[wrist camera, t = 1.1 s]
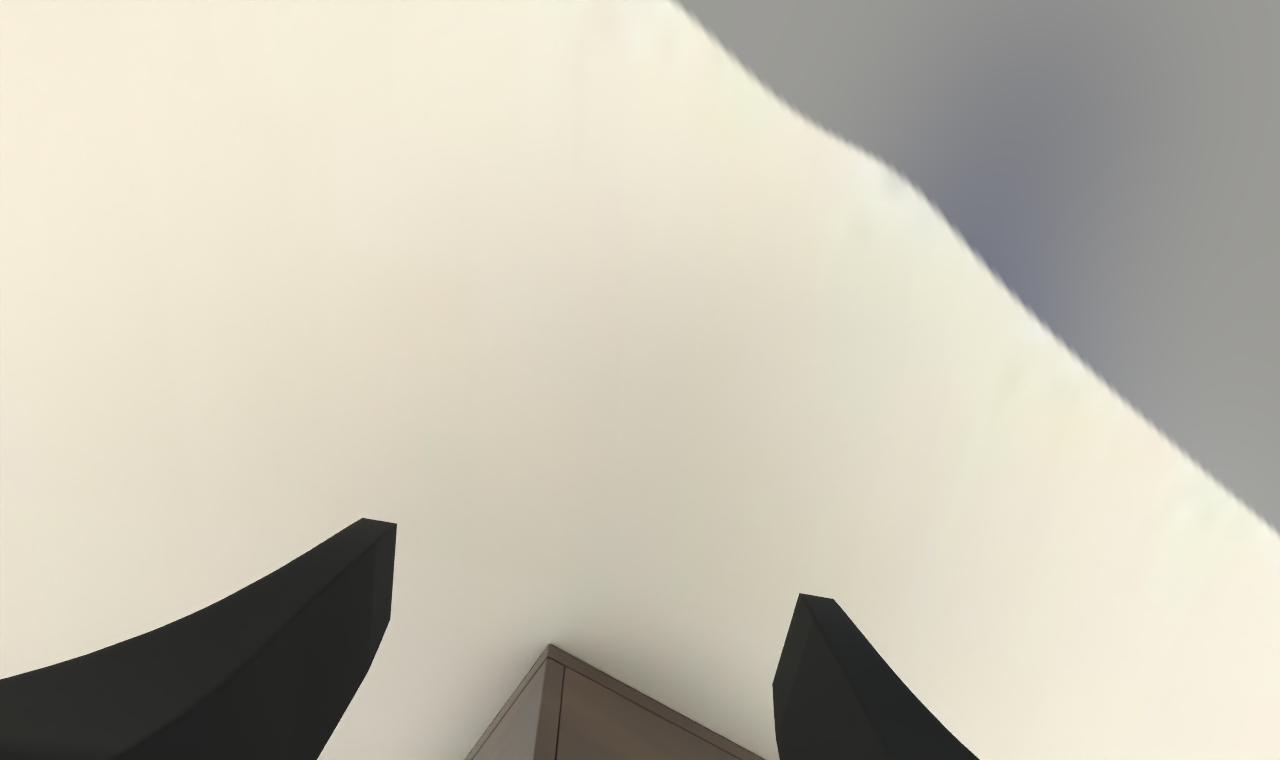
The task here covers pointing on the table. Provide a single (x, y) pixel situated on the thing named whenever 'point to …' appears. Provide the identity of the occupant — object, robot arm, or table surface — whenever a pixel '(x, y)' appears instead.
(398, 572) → the table surface
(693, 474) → the table surface
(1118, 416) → the table surface
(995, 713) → the table surface
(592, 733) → the cabinet
